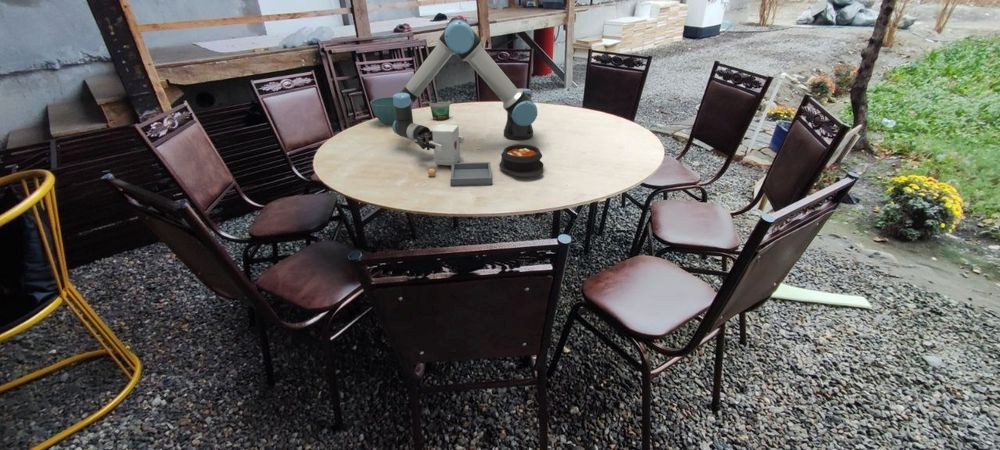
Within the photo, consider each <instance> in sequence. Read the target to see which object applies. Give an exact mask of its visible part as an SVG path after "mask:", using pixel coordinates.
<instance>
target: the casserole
mask: <svg viewBox="0 0 1000 450" xmlns="http://www.w3.org/2000/svg"><path fill="white" fill-rule="evenodd" d="M500 155H501V159H500V162H499V167H500V169H501V170H503V171H505V172H507V173H509V174H512V175H514V176H515V177H518V178H531V177H537V176H540V175H542V174H544V170H543V168H544V167H545V166H544V163H543V161H542V160H541V159H542V158H543V154H542V152H541V149H540V148H539V147H537V146H535V145H532V144H524V143H520V144H519V143H518V144H516V143H515V144H511V145H508V146H506V147H504V149H503V151H502V152H501V154H500Z"/></svg>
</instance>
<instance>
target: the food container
mask: <svg viewBox="0 0 1000 450" xmlns="http://www.w3.org/2000/svg"><path fill="white" fill-rule="evenodd" d="M450 105H451V101H450V99H448V100H446V101H437V102H431V101H429V104H428V106H429V107H430V111H431V117H432V120H433V121H437V122H442V121H443V122H444V121H448V120H449V119H450Z"/></svg>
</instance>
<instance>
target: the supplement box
mask: <svg viewBox="0 0 1000 450" xmlns="http://www.w3.org/2000/svg"><path fill="white" fill-rule="evenodd" d="M431 131H432V134H433V141H432V142H434V143H437V144H440V145H442V152H439V151H437V150H434V149H433V156H434V157H433V158H434V165H439V166H440V165H441V166H451V167H452V163H459V161H460V159H461V147H460V143H459V136H460V132H459V125H458V124H457V125H456V124H445V123H444V124H443V123H442V124H438V125H437V126H435V127H434V128H433V129H432V130H431Z"/></svg>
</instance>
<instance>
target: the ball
mask: <svg viewBox="0 0 1000 450" xmlns="http://www.w3.org/2000/svg"><path fill="white" fill-rule="evenodd" d="M436 174H437V171H436V169H434V168H429V169H428V170H427V175H428V176H429V177H434V176H436Z"/></svg>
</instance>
